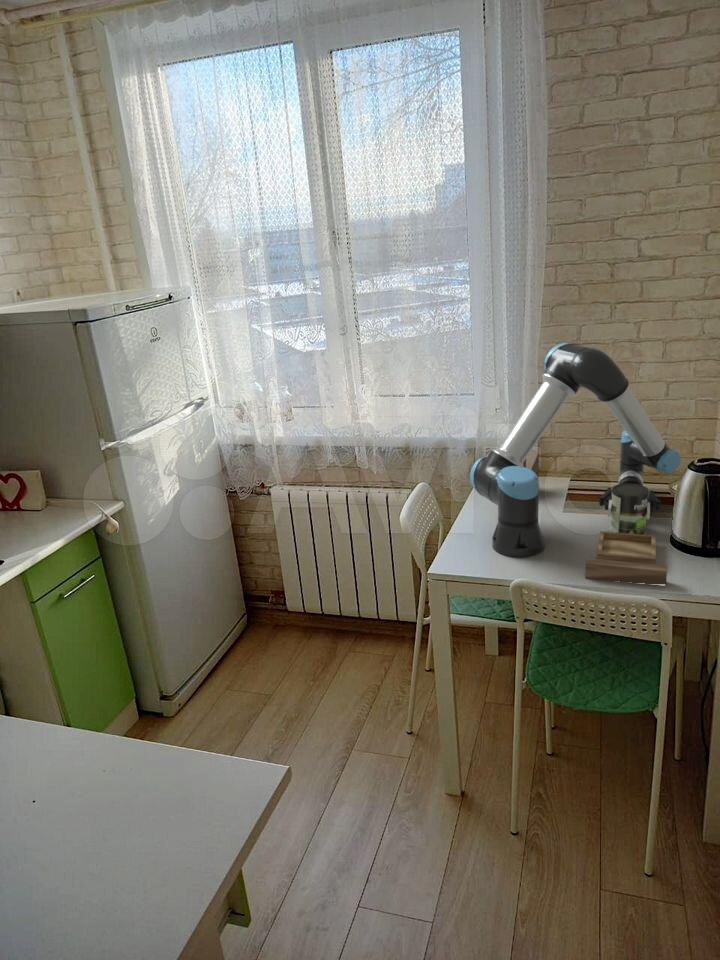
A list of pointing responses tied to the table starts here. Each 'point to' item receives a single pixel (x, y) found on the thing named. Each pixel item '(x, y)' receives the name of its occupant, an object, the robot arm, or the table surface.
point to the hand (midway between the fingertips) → (628, 513)
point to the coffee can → (629, 508)
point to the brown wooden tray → (627, 547)
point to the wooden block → (532, 462)
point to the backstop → (625, 571)
